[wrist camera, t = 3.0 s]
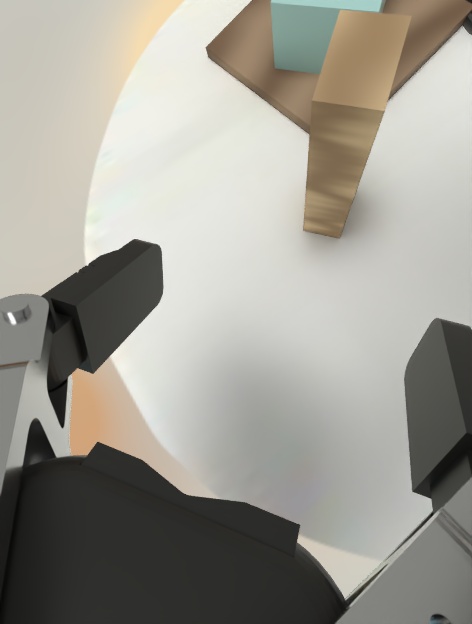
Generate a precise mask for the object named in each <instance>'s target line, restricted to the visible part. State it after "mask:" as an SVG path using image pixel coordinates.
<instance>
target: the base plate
mask: <svg viewBox="0 0 472 624" xmlns="http://www.w3.org/2000/svg"><path fill="white" fill-rule="evenodd" d="M471 12H472V4H471V3H469V2H468V1H466V0H386V2H385V5H384V9H383V12H382V13H384V14H396V15H408V16H412V17H411V20H410V24H409V27H408V31H407V34H406V38H405V41H404V45H403V48H402V52H401V55H400V59H399V62H398V66H397V70H396V73H395V77H394V80H393V84H392V87H391V91H390V94H389V98H388V100H389V99H390V98H391V97H392V96H393V95H394V94H395V93H396V92H397V91H398V90H399V89H400V88H401V87H402V86H403V85H404V84H405V83H406V82H407V80H408V79H409V78H410V77H411V76H412V75H413V74H414V73H415V72H416V71H417V70H418V69H419V68H420V67H421V66H422V65H423V64H424V63H425V62H426V61H427V60H428V59H429V58H430V57H431V56H432V55H433V54H434V53H435V52H436V51H437V50H438V49H439V48H440V47H441V46H442V45H443V44H444V43H445V42H446V41H447V40H448V39H449V38H450V37H451V36H452V35H453V34H454V33H455V32H456V31H457V30H458V29H459V28H460V27H461V26H462V25H463V23H464V21H465V19H466V17H467V16H468V15H469V14H470V13H471ZM206 50H207V54H208V57H209V58H210V59H212V60H213V61H214V62H216V63H217V64H218V65H220V66H221V67H222V68H223V69H225V70H226V71H227V72H229V73H230V74H231V75H233V76H234V77H235V78H237V79H238V80H239V81H241V82H242V83H243V84H244V85H246V86H247V87H248V88H250V89H251V90H252V91H254V92H255V93H256V94H258V95H259V96H260V97H262V98H263V99H264V100H265V101H267V102H268V103H269V104H271V105H272V106H273V107H275V108H276V109H277V110H279V111H280V112H281V113H283V114H284V115H285V116H287V117H288V118H289V119H290V120H292V121H293V122H294V123H296V124H297V125H298V126H300V127H301V128H302V129H304V130H305V131H306V132H308V133H309V134H310V122H311V107H312V99H313V95H314V92H315V89H316V86H317V83H318V79H319V76H320V74H315V73H307V72H299V71H292V70H284V69H276V68H275V63H274V48H273V33H272V18H271V0H252V1H251V2H250V3H249V4H248V5H247V6H246V7H245V8H244V9H243V10H242V11H241V12H240V13H239V14H238V15H237V16H236V17H235V18H234V19H233V20H232V21H231V22H230V23H229V24H228V25H227V26H226V27H225V28H224V29H223V30H222V31H221V32H220V33H219V34H218V36H217V37H216V38H215V39H214V40H213V41H212V42H211V43H210V44H209V45H208V46H207V47H206Z"/></svg>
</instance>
